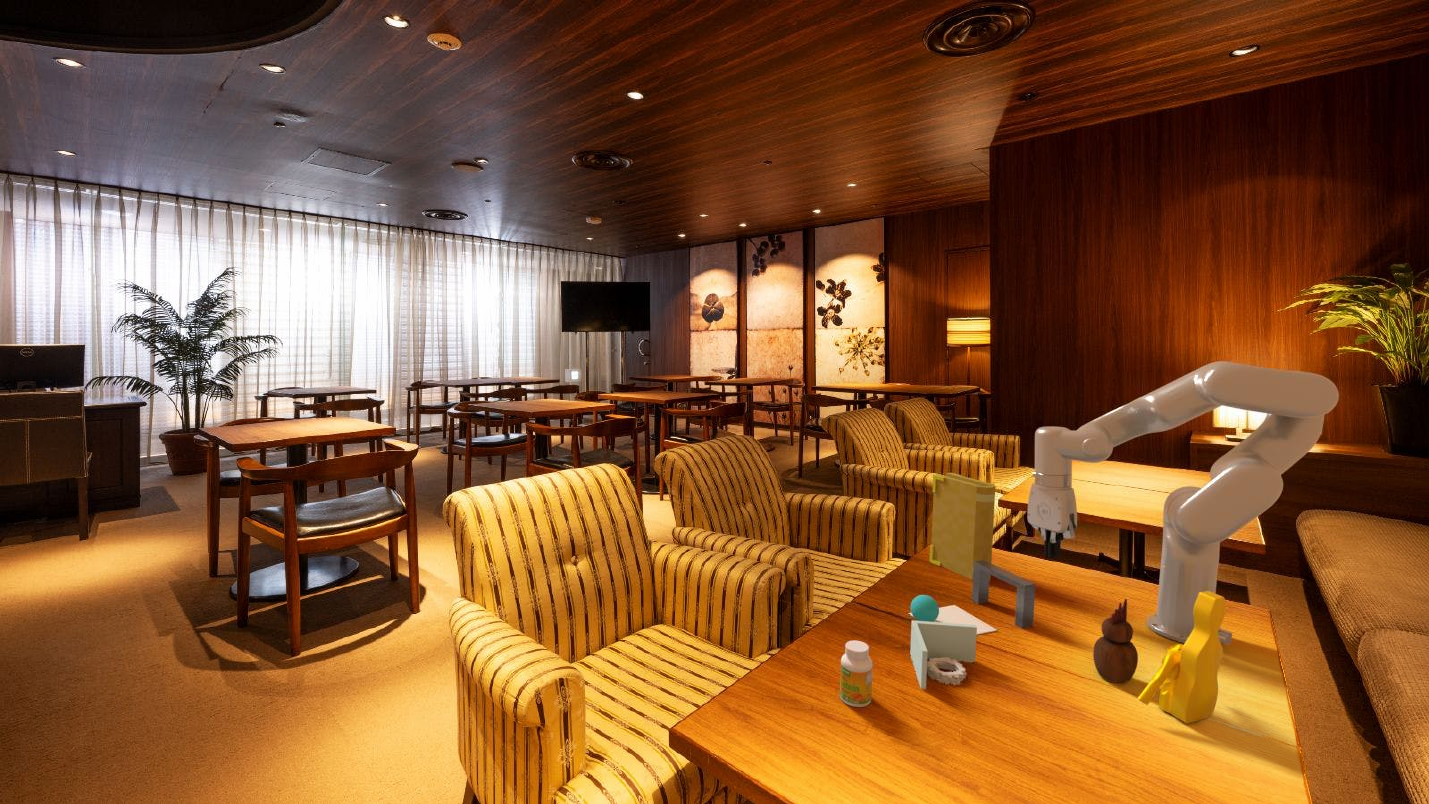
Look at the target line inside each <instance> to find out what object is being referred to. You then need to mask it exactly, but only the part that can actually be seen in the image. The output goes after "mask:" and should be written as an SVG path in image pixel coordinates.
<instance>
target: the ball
mask: <svg viewBox="0 0 1429 804" xmlns="http://www.w3.org/2000/svg"><path fill="white" fill-rule="evenodd" d="M939 608H940V607H939V603H938V602H937V601H936V600H935V598H933V596H930V595H926V594H920V595H917V596H915V597H914V598H913V599H912V601H911V603H910V613H912V615H913V619H915V621H927V622H933V621H935V620H936V619H937V617H938V615H939Z"/></svg>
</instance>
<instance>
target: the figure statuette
mask: <svg viewBox="0 0 1429 804" xmlns="http://www.w3.org/2000/svg"><path fill="white" fill-rule="evenodd" d="M1225 615H1226V599H1225V597H1224V596H1222V595H1219V594H1217V593H1213V592H1210V591H1205V592H1200V593H1199V595H1198V597H1197V600H1196V602H1195V605H1194V609H1193V617H1194V629H1193V631H1192V633H1191V634H1190V636H1189V638H1188V639H1187V641H1186V642H1185V643H1182V644H1181V643H1180V644H1175V645H1171V646H1170V647H1168V648H1166V649H1165V650H1166V652H1167V653H1166V654H1165V655H1164V657H1163V659H1162V660H1161V666H1160V667H1159V669H1158V670H1157V671H1156V673H1155V675H1154V676H1153V677H1152V678H1151V680H1150V681H1149V683H1148V684H1147V685H1146V687H1144V689H1143V690H1142V692H1141V693H1140V694H1139V696H1138V697H1137V700H1139V701H1140V702H1142V703H1143V704H1145V706H1148V705H1149V704H1150V702H1151V701H1152V699H1153V697H1154V696H1155V695H1156V693H1157V692H1158V691H1159V689H1160V691H1159V699H1158V706H1159V708H1160V709H1161V710H1162V711H1164V712H1165V713H1166V712H1167V713H1169V714H1171V715H1172V716H1174V717H1176V718H1177V719H1178V720H1180V721H1181V722H1183V723H1185V724H1191V723H1194V722H1197V721H1201V720H1204V719H1207V718H1209V717H1211V716H1212V715H1213V713H1214V711H1215V708H1216V705H1217V701H1218V694H1219V683H1218V672H1219V670H1220V666H1221V663H1222V660H1223V654H1224V649H1223V645H1222V643H1221V642H1220V640H1219V637H1218V630H1219V628H1220V629H1221V626H1222V623H1223V621H1224V617H1225Z"/></svg>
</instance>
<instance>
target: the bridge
mask: <svg viewBox="0 0 1429 804" xmlns="http://www.w3.org/2000/svg"><path fill="white" fill-rule="evenodd" d="M990 575H991V577H992V576H993V577H995V578H997V579H998V580H1000V581H1002V582H1005V583H1007V584H1009V585H1011V586H1013V587H1015V588H1016V602H1015V603H1016V604H1015V615H1014V616H1015V618H1014V620H1015V621H1014V625H1015V626H1017V627H1019V628H1021V630H1023V629H1028V628H1032V627H1034V614H1035V599H1036V583H1034V582H1032V581H1030V580H1027V579H1026V578H1024V577H1022V576H1019V575H1018V574H1015V573H1013V572H1010V571H1008V570H1006V569H1004V568H1002V567H999V566H998V565H995V564H993V563H992V562H991V563H989V562H987V561H985V560H982V561H975V562H974V570H973V580H972V593H971V596H972V597H971V601H972V602H974V604H978V605H980V604H981V605H982V604H985V603H989V596H990V595H989V593H990V581H989V577H990Z"/></svg>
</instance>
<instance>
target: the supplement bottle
mask: <svg viewBox="0 0 1429 804" xmlns="http://www.w3.org/2000/svg"><path fill="white" fill-rule="evenodd" d="M844 646H845V649H844V650H845V651H844V652H845V653H844V654H843V655H842V656H841V659H840V676H839V677H840V680H839V682H840V683H839V697H840V700H841V701H842V702H843V703H844V704H846V705H848V706H850V707H855V708H863V707H867V706H869V705H870V704H871V702H872V696H873V695H872V692H873V667H874V666H873V661H872V658H871V657H870V656H869V654H870V647H869V644H867V643H866V642H863V641H860V640H849V641H847V642H846V643H845V645H844Z"/></svg>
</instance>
